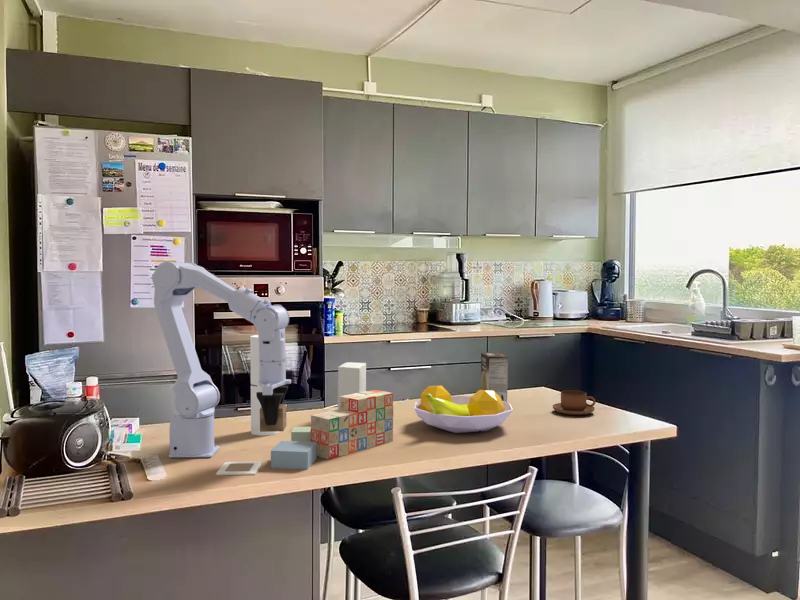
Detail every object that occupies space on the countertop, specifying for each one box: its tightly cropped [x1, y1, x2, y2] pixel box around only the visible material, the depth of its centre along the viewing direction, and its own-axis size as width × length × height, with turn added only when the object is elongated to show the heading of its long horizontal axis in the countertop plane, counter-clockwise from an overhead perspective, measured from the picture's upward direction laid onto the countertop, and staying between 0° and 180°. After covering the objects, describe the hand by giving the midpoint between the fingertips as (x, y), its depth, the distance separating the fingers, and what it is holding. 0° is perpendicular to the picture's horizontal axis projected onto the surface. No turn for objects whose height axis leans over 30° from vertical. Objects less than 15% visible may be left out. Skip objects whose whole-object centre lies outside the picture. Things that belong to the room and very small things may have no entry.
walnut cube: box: [260, 403, 287, 432], centre depth 144 cm, size 5×5×5 cm
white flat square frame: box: [215, 461, 263, 476], centre depth 138 cm, size 8×8×1 cm
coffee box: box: [480, 351, 509, 403], centre depth 201 cm, size 9×6×16 cm
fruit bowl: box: [413, 385, 514, 434], centre depth 174 cm, size 28×27×11 cm
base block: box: [270, 440, 318, 470], centre depth 142 cm, size 8×8×4 cm
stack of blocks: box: [310, 389, 394, 460], centre depth 154 cm, size 21×6×12 cm, turn 138°
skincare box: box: [337, 361, 367, 410], centre depth 183 cm, size 8×7×16 cm
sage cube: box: [290, 426, 311, 442], centre depth 152 cm, size 5×5×5 cm
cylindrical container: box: [249, 334, 280, 437], centre depth 168 cm, size 7×7×25 cm
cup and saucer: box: [552, 389, 597, 416], centre depth 192 cm, size 12×12×6 cm
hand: (273, 421), depth 144 cm, fingers closed on walnut cube, 5 cm apart
